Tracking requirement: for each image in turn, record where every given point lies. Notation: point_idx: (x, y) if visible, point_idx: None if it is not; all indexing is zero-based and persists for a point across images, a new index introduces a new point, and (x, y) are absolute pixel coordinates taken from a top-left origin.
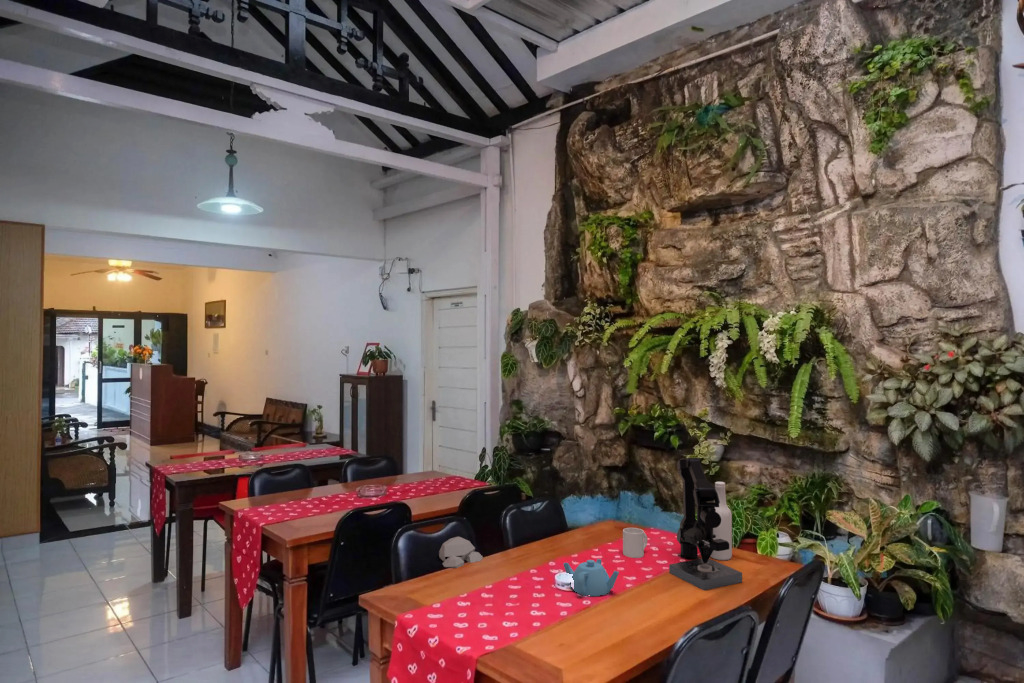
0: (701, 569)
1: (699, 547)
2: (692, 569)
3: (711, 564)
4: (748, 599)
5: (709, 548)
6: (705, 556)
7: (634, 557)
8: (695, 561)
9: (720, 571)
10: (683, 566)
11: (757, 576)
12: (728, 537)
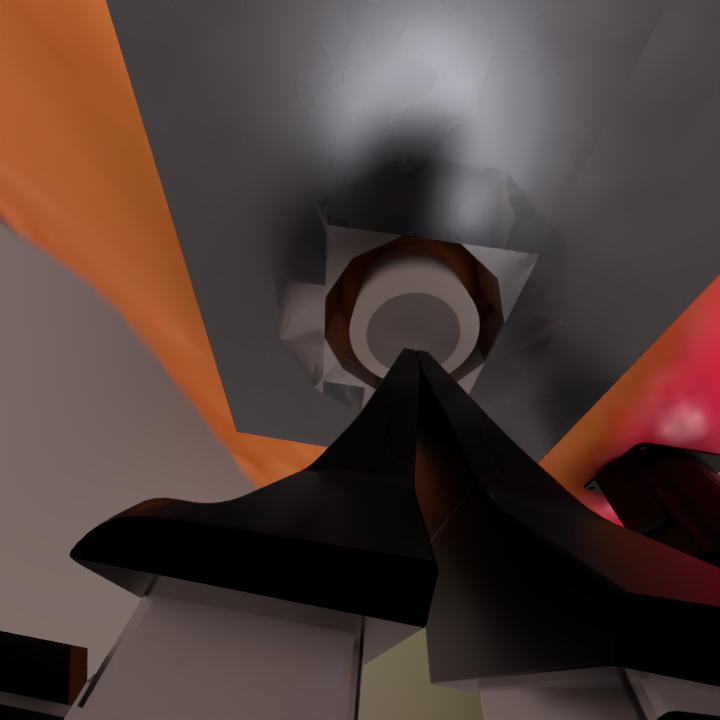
0: (403, 271)
1: (529, 515)
2: (483, 190)
3: None
4: (10, 223)
5: (162, 546)
6: (375, 392)
7: None
8: (559, 393)
9: (296, 364)
10: (640, 172)
11: (293, 466)
12: None
